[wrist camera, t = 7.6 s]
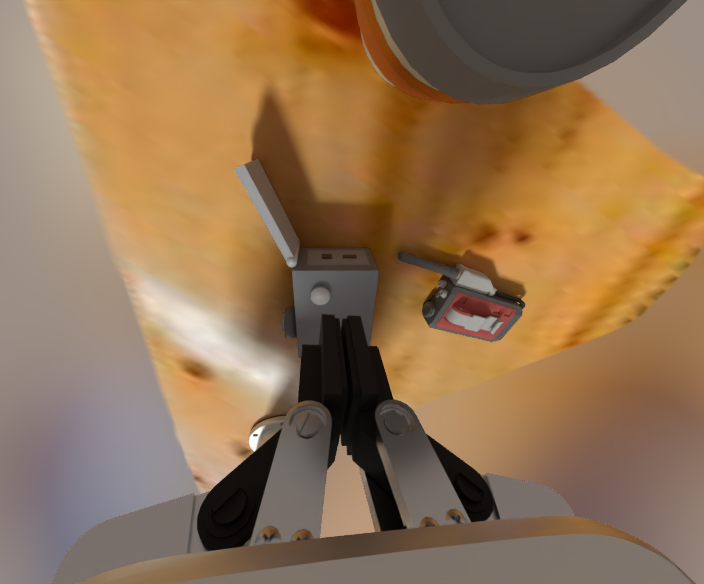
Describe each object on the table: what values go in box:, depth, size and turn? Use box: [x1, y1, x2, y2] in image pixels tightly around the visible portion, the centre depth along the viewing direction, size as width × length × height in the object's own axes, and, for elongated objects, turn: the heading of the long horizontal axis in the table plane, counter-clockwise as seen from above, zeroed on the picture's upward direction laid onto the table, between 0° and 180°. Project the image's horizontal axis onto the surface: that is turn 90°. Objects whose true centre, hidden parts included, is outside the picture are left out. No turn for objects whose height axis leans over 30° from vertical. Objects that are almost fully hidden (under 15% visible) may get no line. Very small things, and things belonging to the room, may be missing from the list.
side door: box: [234, 159, 300, 267], centre depth 23 cm, size 1×9×5 cm, turn 20°
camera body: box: [282, 247, 379, 357], centre depth 28 cm, size 11×10×6 cm
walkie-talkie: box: [398, 252, 525, 342], centre depth 32 cm, size 9×4×20 cm
